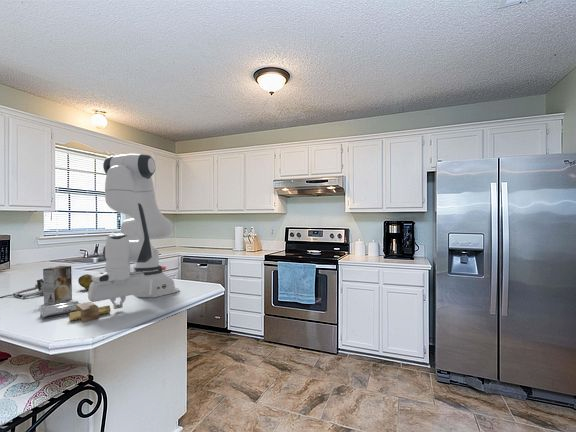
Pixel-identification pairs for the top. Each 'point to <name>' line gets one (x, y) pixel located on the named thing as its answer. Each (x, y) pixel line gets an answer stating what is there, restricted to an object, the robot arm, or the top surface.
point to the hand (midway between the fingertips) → (118, 308)
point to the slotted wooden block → (88, 311)
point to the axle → (77, 314)
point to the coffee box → (57, 284)
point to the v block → (58, 310)
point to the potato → (85, 281)
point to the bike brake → (38, 286)
